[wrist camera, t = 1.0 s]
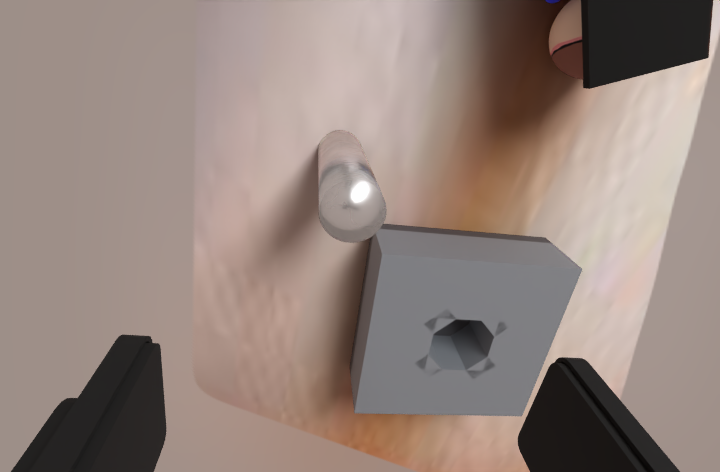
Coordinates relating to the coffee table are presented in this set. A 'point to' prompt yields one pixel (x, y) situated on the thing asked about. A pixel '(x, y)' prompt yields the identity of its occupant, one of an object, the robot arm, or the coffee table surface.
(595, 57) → the figurine character
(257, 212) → the coffee table surface
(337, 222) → the aluminium pin
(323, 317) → the coffee table surface
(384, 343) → the bore block
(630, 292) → the coffee table surface
